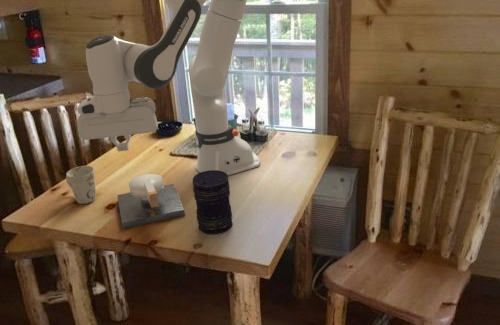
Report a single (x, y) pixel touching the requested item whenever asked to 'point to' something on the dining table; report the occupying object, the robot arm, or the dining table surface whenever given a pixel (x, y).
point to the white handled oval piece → (147, 188)
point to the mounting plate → (149, 208)
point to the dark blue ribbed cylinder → (212, 202)
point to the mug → (82, 183)
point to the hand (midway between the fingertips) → (123, 150)
